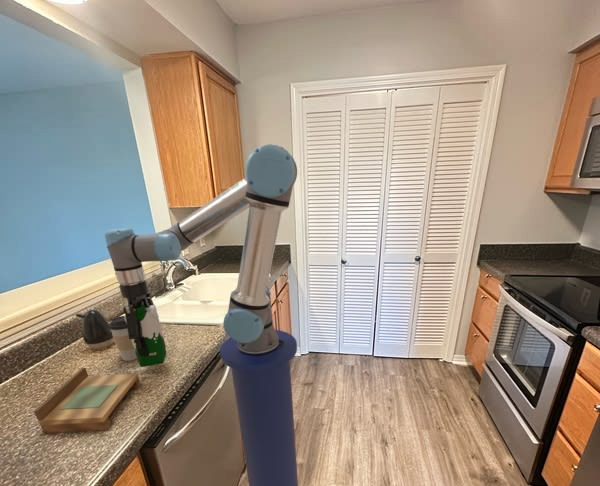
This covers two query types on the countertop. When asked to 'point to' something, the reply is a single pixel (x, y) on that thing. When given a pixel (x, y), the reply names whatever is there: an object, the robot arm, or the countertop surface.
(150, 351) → the soya milk
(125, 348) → the coffee cup
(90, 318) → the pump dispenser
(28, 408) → the countertop surface
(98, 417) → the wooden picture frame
